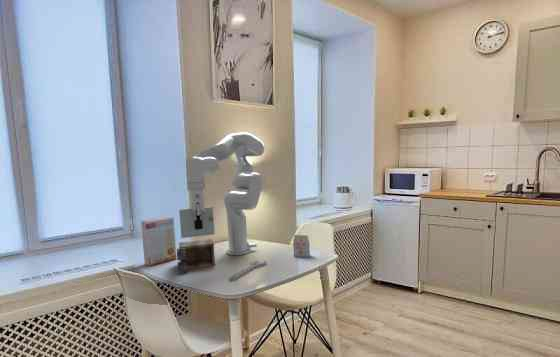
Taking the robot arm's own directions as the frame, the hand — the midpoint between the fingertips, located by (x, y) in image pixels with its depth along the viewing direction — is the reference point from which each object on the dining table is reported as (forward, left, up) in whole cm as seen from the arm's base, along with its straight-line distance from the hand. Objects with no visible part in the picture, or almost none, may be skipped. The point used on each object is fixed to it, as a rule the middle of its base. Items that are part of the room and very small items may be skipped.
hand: (198, 228), depth 148 cm
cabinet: (+2, -6, -18) cm, 19 cm away
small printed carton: (-48, -1, -19) cm, 51 cm away
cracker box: (+17, -22, -19) cm, 34 cm away
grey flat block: (0, 0, -3) cm, 3 cm away
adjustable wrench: (-18, +10, -19) cm, 28 cm away
